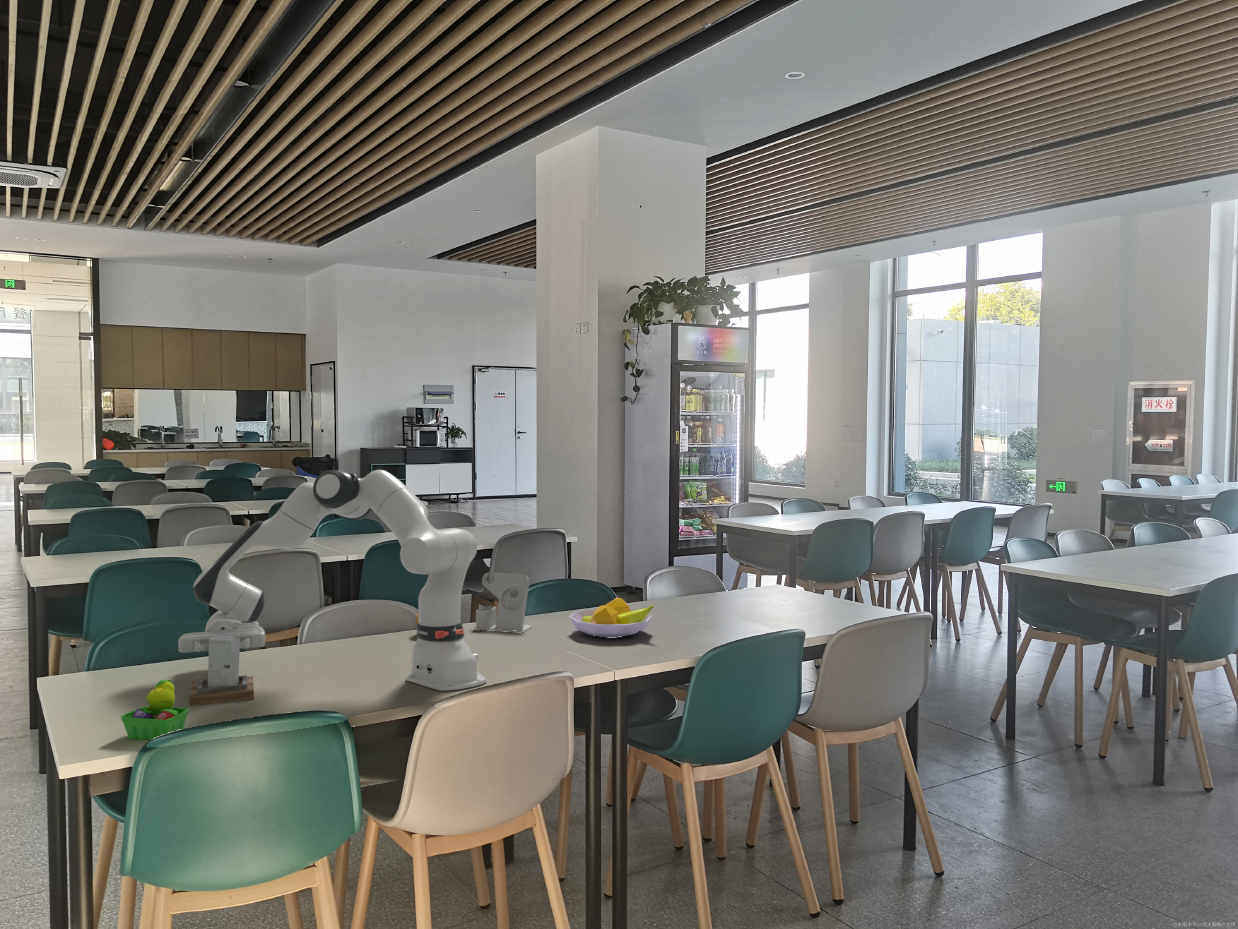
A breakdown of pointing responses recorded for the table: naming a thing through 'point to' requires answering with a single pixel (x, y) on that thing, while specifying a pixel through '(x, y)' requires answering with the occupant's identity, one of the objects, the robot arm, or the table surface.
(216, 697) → the socket plinth
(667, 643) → the table surface
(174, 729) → the fruit basket
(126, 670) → the table surface
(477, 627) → the phone holder
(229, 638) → the skincare box
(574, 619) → the fruit bowl
